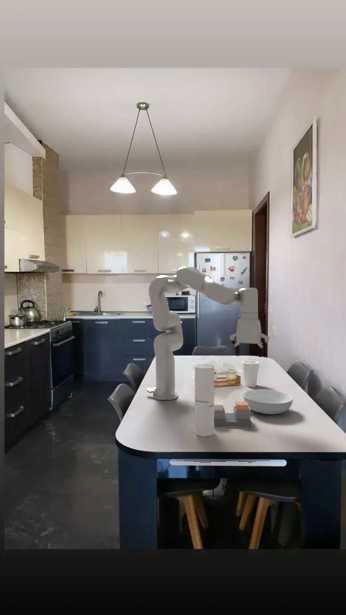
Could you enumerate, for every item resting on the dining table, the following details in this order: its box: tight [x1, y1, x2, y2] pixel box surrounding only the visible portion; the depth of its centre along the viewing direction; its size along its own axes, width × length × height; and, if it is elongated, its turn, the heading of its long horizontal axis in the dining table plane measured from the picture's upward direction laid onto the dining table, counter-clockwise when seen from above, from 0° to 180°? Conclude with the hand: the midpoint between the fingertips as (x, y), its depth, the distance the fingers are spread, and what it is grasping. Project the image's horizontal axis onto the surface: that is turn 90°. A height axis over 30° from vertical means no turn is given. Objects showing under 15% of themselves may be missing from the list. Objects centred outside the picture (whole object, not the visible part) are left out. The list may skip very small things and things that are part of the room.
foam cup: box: [241, 360, 260, 388], centre depth 201 cm, size 10×9×13 cm
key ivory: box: [214, 401, 224, 411], centre depth 146 cm, size 4×4×3 cm
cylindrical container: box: [194, 363, 215, 437], centre depth 135 cm, size 7×7×25 cm
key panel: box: [214, 405, 253, 428], centre depth 146 cm, size 16×10×6 cm, turn 88°
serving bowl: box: [243, 388, 294, 415], centre depth 159 cm, size 21×21×7 cm
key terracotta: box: [235, 401, 249, 411], centre depth 145 cm, size 4×4×3 cm
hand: (249, 356), depth 157 cm, fingers open, 9 cm apart
